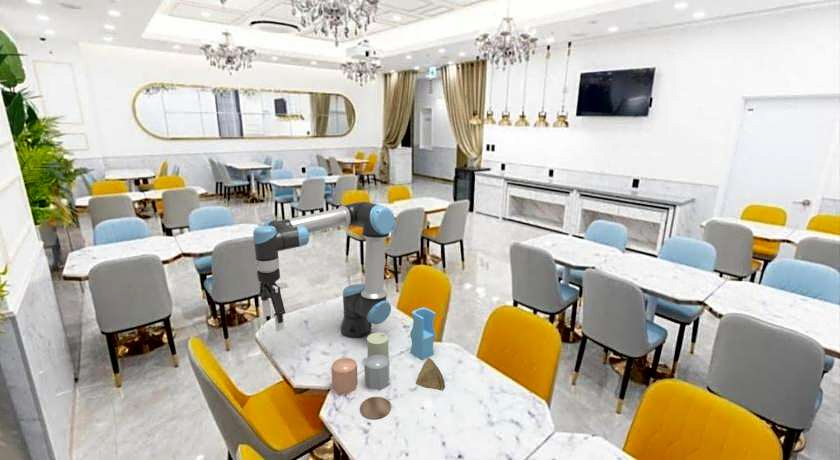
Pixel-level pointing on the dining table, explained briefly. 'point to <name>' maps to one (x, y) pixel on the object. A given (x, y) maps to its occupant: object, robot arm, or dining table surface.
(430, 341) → the blue notched block
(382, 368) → the cup grey
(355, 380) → the cup terracotta
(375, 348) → the can
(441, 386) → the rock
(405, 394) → the dining table surface
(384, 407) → the coaster
